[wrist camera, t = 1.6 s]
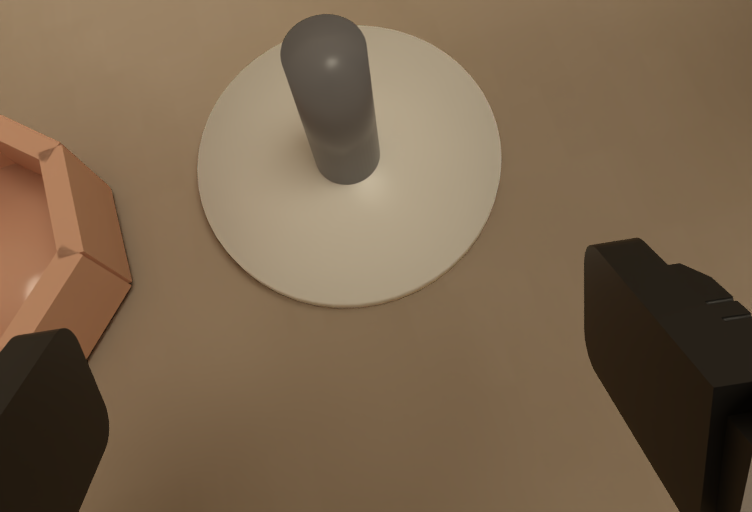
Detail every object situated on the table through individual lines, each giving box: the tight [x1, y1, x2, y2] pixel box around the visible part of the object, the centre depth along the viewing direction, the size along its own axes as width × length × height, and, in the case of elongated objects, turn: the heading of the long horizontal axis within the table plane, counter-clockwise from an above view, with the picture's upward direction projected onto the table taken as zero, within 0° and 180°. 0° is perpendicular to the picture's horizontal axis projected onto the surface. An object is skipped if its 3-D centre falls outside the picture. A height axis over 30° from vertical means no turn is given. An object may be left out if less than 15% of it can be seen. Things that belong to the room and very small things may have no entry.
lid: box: [197, 14, 502, 308], centre depth 27 cm, size 14×14×9 cm
